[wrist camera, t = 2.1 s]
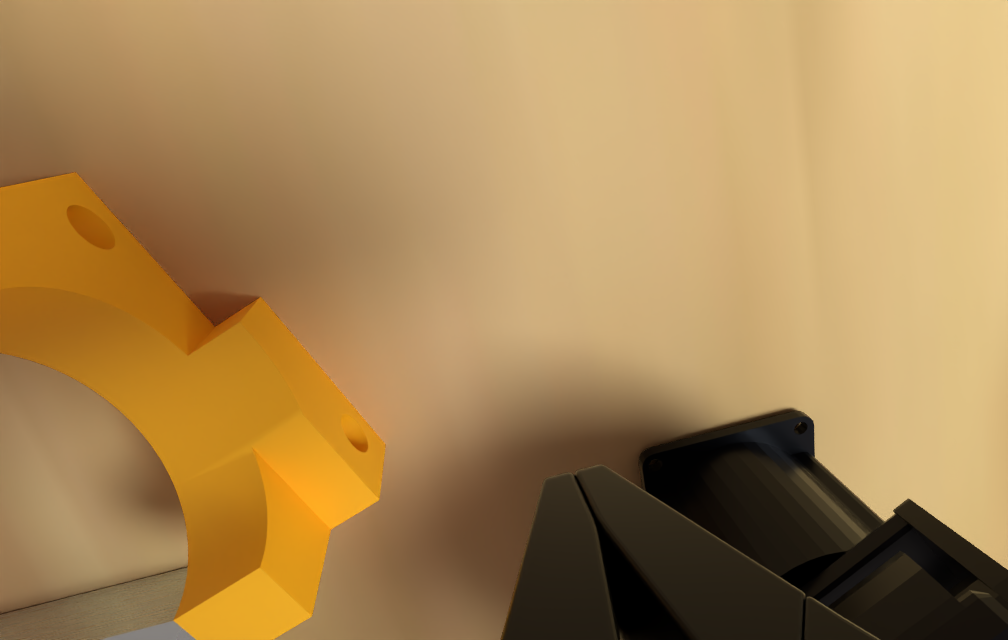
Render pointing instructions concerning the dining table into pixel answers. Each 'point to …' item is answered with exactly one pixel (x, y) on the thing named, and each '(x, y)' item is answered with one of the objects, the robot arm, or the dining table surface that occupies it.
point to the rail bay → (106, 613)
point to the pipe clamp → (193, 405)
